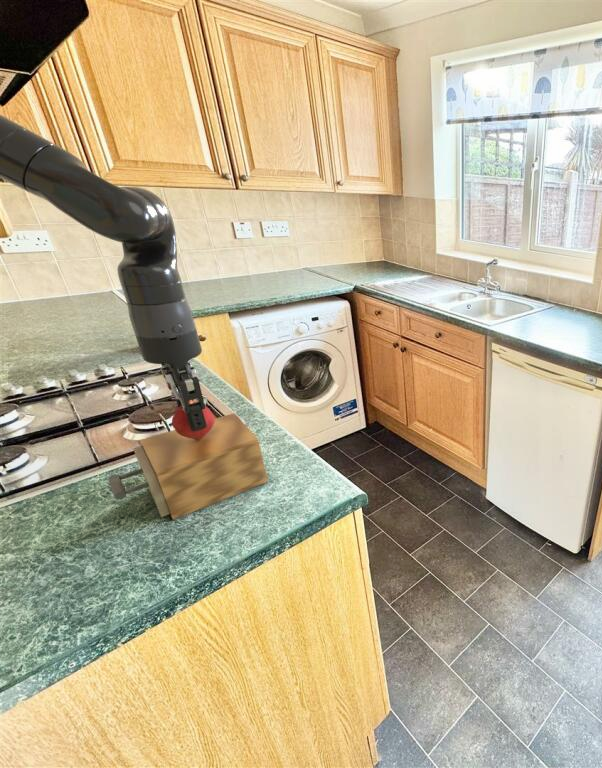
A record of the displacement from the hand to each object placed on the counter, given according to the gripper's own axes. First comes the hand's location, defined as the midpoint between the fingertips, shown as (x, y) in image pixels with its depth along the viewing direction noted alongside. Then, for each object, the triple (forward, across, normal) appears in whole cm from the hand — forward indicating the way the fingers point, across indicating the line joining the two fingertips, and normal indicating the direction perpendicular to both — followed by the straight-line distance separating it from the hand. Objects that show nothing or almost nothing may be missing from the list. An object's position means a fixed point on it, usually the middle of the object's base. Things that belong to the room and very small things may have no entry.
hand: (193, 421), depth 72 cm
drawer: (+12, 0, -4) cm, 13 cm away
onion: (+4, 0, 0) cm, 4 cm away
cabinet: (+13, 0, 0) cm, 13 cm away
